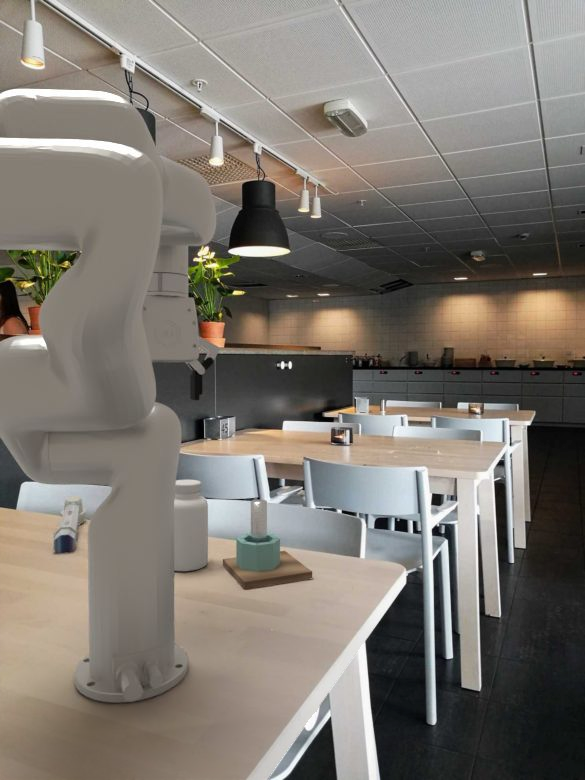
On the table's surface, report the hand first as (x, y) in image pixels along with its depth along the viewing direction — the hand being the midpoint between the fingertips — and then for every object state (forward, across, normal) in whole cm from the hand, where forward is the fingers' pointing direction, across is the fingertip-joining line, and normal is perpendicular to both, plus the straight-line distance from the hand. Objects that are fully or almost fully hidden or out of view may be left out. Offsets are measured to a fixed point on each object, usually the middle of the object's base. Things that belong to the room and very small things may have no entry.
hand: (164, 400), depth 89 cm
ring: (+29, +17, +4) cm, 34 cm away
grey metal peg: (+29, +17, +4) cm, 34 cm away
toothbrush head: (+31, -12, +40) cm, 52 cm away
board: (+30, +18, +3) cm, 35 cm away
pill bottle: (+31, +6, +12) cm, 33 cm away
